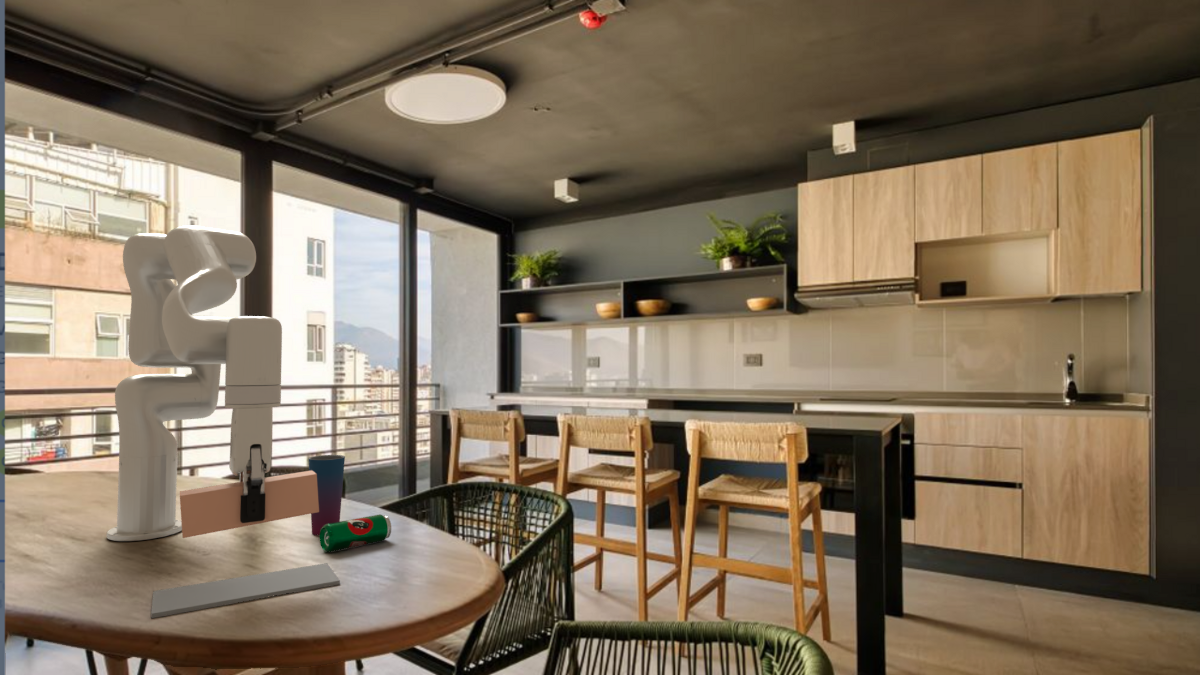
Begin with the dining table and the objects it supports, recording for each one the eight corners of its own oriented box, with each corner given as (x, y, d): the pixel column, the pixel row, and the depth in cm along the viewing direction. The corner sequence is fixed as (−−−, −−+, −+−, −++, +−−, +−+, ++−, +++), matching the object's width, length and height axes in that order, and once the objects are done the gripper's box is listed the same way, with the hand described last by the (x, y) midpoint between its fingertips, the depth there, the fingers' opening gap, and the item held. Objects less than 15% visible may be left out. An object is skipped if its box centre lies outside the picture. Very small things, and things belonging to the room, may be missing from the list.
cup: (333, 525, 134) (334, 453, 134) (350, 531, 129) (351, 457, 130) (300, 532, 128) (302, 457, 129) (317, 538, 124) (318, 461, 125)
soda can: (331, 553, 113) (393, 540, 122) (329, 524, 114) (391, 513, 123) (318, 553, 116) (380, 540, 125) (317, 524, 117) (378, 513, 126)
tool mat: (153, 595, 94) (153, 591, 94) (326, 566, 108) (327, 563, 108) (151, 618, 86) (151, 613, 86) (339, 584, 99) (339, 580, 99)
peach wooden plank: (182, 532, 94) (179, 491, 94) (314, 507, 104) (312, 470, 104) (182, 538, 91) (179, 495, 90) (319, 512, 101) (316, 473, 100)
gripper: (221, 395, 103) (219, 510, 102) (228, 400, 89) (226, 534, 88) (273, 394, 107) (271, 505, 106) (288, 399, 93) (286, 526, 92)
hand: (251, 516), depth 97 cm, fingers closed on peach wooden plank, 4 cm apart
